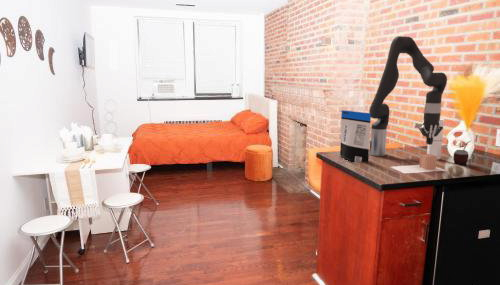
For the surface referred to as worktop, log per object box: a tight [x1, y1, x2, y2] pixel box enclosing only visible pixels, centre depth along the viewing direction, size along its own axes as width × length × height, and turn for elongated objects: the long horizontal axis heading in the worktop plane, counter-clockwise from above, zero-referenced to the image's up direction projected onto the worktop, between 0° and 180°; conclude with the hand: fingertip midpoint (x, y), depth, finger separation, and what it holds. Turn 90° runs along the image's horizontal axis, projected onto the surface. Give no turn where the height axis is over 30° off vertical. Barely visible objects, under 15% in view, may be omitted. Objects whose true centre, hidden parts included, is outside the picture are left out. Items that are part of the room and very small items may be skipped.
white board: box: [390, 164, 447, 174], centre depth 173 cm, size 24×13×2 cm, turn 99°
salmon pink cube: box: [418, 153, 438, 170], centre depth 173 cm, size 6×6×7 cm
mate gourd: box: [453, 140, 471, 166], centre depth 183 cm, size 8×8×15 cm
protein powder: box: [339, 109, 372, 163], centre depth 196 cm, size 10×24×30 cm, turn 25°
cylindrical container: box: [426, 118, 445, 160], centre depth 193 cm, size 7×7×25 cm
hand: (429, 144), depth 172 cm, fingers closed
